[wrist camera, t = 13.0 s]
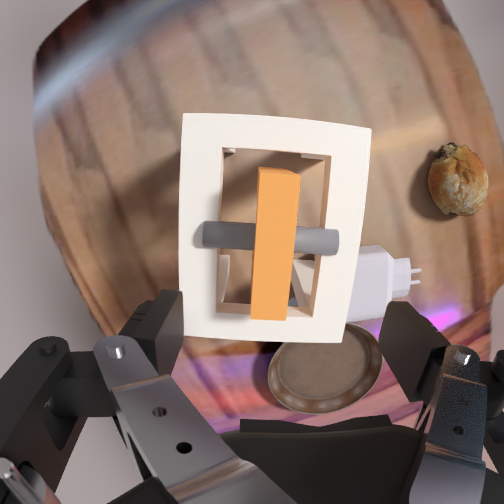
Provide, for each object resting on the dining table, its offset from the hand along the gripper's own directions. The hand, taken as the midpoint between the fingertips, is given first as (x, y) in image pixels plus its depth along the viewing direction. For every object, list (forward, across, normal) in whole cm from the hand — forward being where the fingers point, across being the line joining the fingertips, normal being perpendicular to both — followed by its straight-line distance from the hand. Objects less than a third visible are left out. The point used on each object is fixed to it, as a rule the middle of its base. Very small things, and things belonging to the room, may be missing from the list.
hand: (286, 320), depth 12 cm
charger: (+29, -15, +8) cm, 34 cm away
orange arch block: (+20, 0, 0) cm, 20 cm away
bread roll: (+29, -27, -7) cm, 40 cm away
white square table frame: (+28, 0, 0) cm, 28 cm away
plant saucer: (+29, -11, +23) cm, 39 cm away
